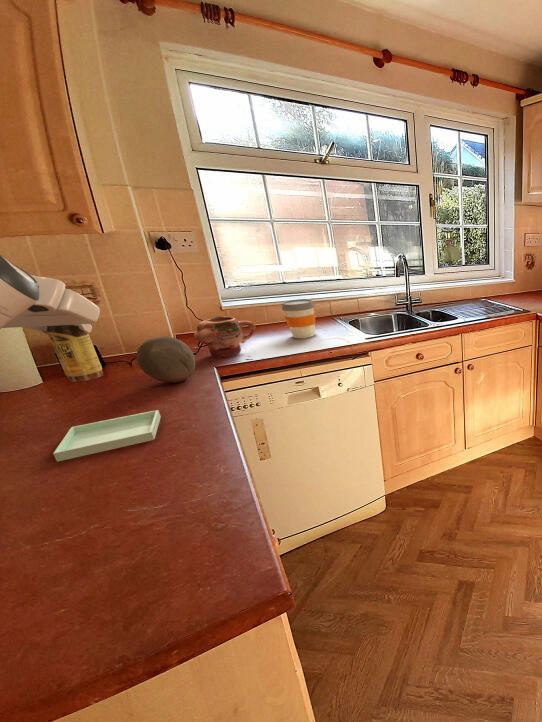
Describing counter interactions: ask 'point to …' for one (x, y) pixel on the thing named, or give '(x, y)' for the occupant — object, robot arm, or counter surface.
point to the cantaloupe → (166, 359)
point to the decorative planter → (223, 335)
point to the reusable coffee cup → (300, 317)
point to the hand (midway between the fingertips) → (70, 330)
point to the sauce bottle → (75, 353)
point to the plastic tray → (108, 435)
